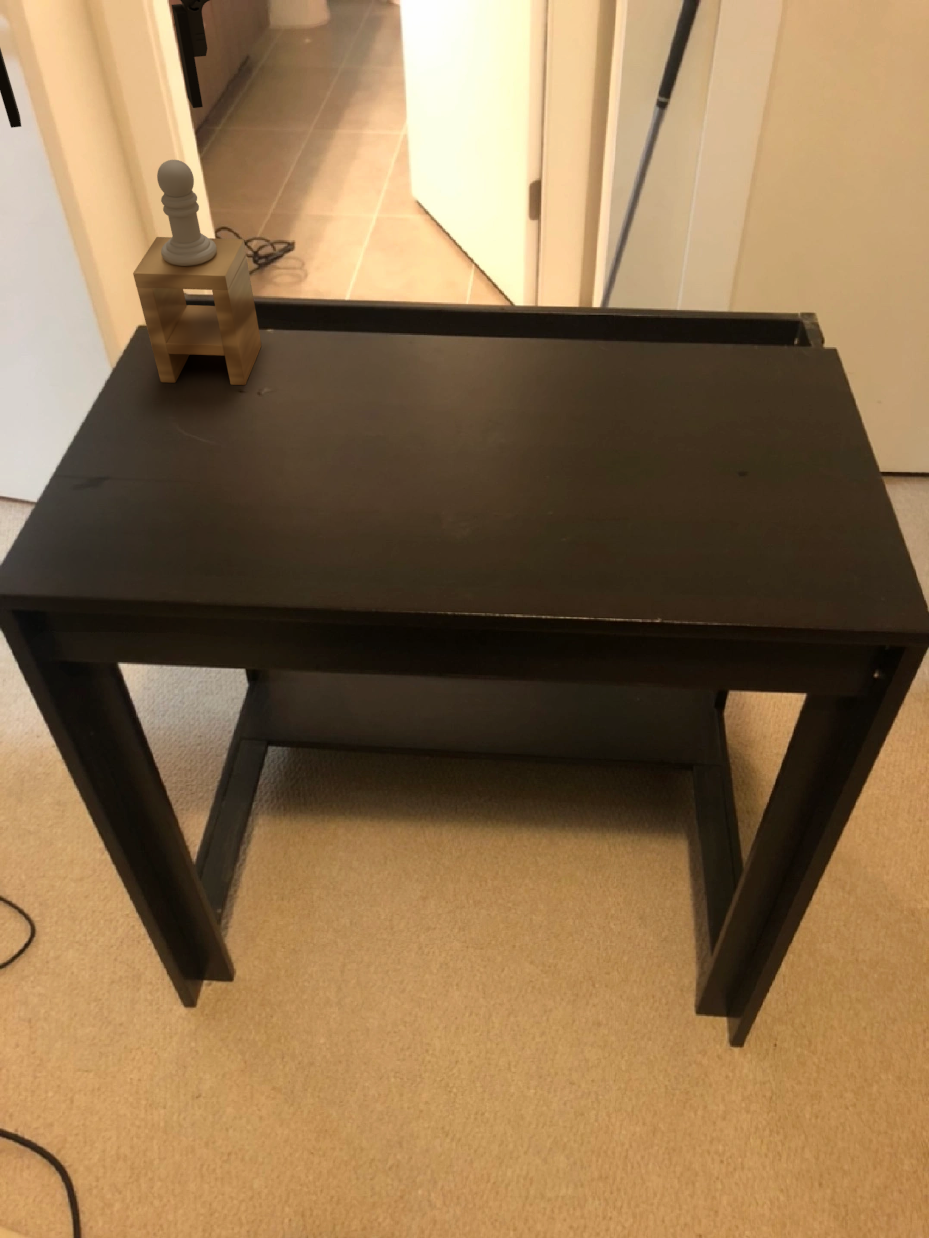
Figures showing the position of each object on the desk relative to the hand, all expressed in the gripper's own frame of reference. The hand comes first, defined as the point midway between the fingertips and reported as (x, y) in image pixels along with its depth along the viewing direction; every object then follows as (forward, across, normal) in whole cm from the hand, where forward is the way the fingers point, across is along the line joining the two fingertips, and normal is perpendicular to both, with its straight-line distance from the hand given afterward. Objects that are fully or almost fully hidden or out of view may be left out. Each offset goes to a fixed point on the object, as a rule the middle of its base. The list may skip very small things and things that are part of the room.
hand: (107, 112), depth 77 cm
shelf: (+29, -5, -11) cm, 31 cm away
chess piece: (+17, -5, -11) cm, 21 cm away
